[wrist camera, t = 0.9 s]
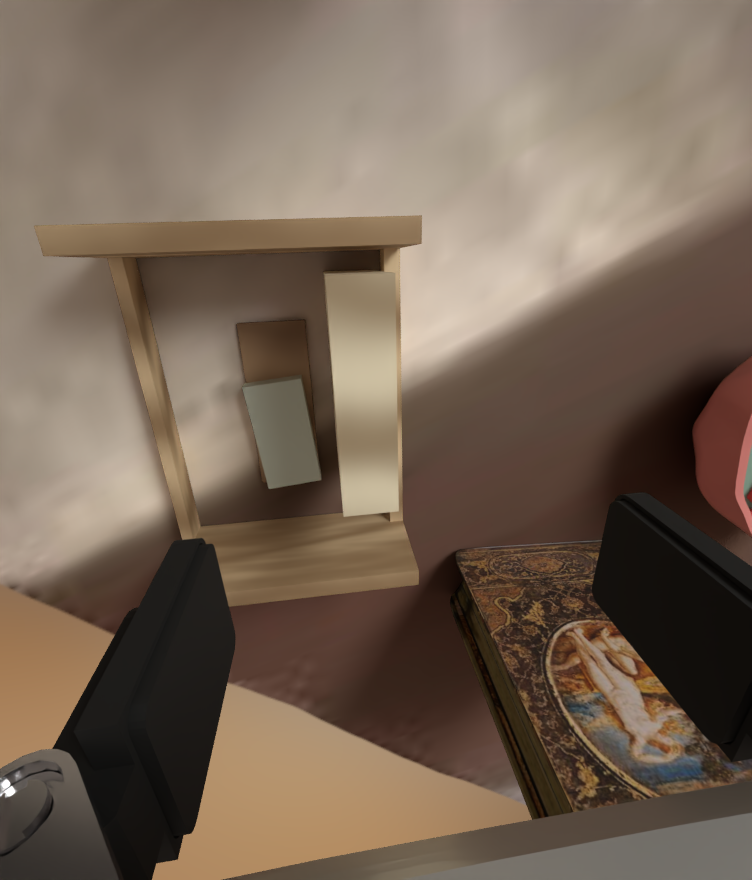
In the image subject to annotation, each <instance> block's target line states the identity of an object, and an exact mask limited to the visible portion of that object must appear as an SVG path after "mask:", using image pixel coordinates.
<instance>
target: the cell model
mask: <svg viewBox="0 0 752 880" xmlns="http://www.w3.org/2000/svg"><path fill="white" fill-rule="evenodd" d="M692 440H693V446H694V451H695V458H696V481H697V484H698V487H699V489H700V491H701V493H702V495H703V497H704V498H705V499H706V501H707V502H708V503H709V504H710V505H711V506H712V507H713V508H714V509H715V510H716V511H717V512H718V513H719V514H720V515H722V516H723V517H724V518H726V519H727V520H728V521H730V522H731V523H732V524H734V525H735V526H736V527H738V528H739V529H740V530H742V531H743V532H744V533H746V534H747V535H749V536H750V537H751V538H752V356H751V357H750V358H748V359H747V360H746V361H744V362H743V363H742V364H741V365H739V366H738V367H737V368H735V369H734V370H733V371H732V372H731V373H730V374H728V375H727V376H726V377H725V378H724V379H723V380H722V381H721V383H720V384H719V385H718V386H717V388H716V389H715V391H714V392H713V394H712V396H711V397H710V399H709V401H708V402H707V404H706V405H705V407H704V408H703V410H702V411H701V413H700V414H699V415H698V417H697V418H696V421H695V423H694V425H693V428H692Z"/></svg>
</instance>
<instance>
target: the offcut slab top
mask: <svg viewBox="0 0 752 880" xmlns="http://www.w3.org/2000/svg"><path fill="white" fill-rule="evenodd" d="M242 389H243V393H244V397H245V401H246V404H247V408H248V412H249V416H250V420H251V423H252V427H253V431H254V435H255V439H256V442H257V446H258V450H259V454H260V457H261V461H262V465H263V469H264V473H265V476H266V480H267V484H268V488H269V489H273V488H279V487H284V486H290V485H296V484H302V483H307V482H313V481H319V480H321V469H320V464H319V459H318V455H317V450H316V445H315V440H314V435H313V430H312V425H311V420H310V415H309V410H308V405H307V400H306V395H305V390H304V385H303V380H302V375H295V376H289V377H282V378H276V379H269V380H263V381H256V382H250V383H245V384H244V386H243V387H242Z"/></svg>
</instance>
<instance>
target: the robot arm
mask: <svg viewBox="0 0 752 880" xmlns="http://www.w3.org/2000/svg"><path fill="white" fill-rule="evenodd" d="M592 594H593V597H594V600H595V601H596V603H597V604H598V605H599V607H600V608H601V609H602V610H603V612H604V613H605V614H606V615H607V617H608V618H609V619H610V620H611V622H612V623H613V624H614V625H615V626H616V628H617V629H618V630H619V631H620V633H621V634H622V635H623V636H624V638H625V639H626V640H627V641H628V643H629V644H630V645H631V646H632V647H633V649H634V650H635V651H636V652H637V654H638V655H639V656H640V657H641V659H642V660H643V661H644V662H645V664H646V665H647V666H648V667H649V668H650V670H651V671H652V672H653V673H654V675H655V676H656V677H657V678H658V680H659V681H660V682H661V683H662V684H663V686H664V687H665V688H666V689H667V691H668V692H669V693H670V694H671V696H672V697H673V698H674V699H675V701H676V702H677V703H678V704H679V705H680V707H681V708H682V709H683V710H684V712H685V713H686V714H687V715H688V717H689V718H690V719H691V720H692V722H693V723H694V724H695V725H696V726H697V728H698V729H699V730H700V731H701V733H702V734H703V735H704V736H705V737H706V738H707V739H708V740H709V741H711V742H712V743H715V744H717V745H718V746H719V747H720V749H721V750H722V751H723V752H724V753H725V755H726V756H727V757H728V758H729V760H730V761H731V762H737V761H742V760H748V759H752V567H751V566H750V565H748V564H747V563H746V562H744V561H743V560H741V559H740V558H739V557H737V556H736V555H734V554H733V553H731V552H730V551H729V550H727V549H726V548H724V547H723V546H722V545H720V544H719V543H717V542H716V541H714V540H713V539H712V538H710V537H709V536H707V535H706V534H705V533H703V532H702V531H700V530H699V529H698V528H696V527H695V526H693V525H692V524H690V523H689V522H688V521H686V520H685V519H683V518H682V517H681V516H679V515H678V514H676V513H675V512H673V511H672V510H671V509H669V508H668V507H666V506H665V505H664V504H662V503H661V502H659V501H658V500H656V499H655V498H654V497H652V496H651V495H649V494H647V493H642V492H641V493H632V494H622V495H619V496H618V497H617V498H616V499H615V501H614V502H612V503H611V504H610V507H609V511H608V515H607V520H606V524H605V529H604V533H603V538H602V542H601V547H600V552H599V556H598V561H597V565H596V570H595V574H594V579H593V583H592ZM234 650H235V631H234V626H233V622H232V618H231V614H230V610H229V605H228V601H227V597H226V593H225V589H224V584H223V580H222V576H221V572H220V568H219V563H218V559H217V555H216V551H215V547H214V545H213V544H206V542H205V540H204V539H203V538H195V539H185V540H176V541H174V542H173V543H172V545H171V547H170V549H169V551H168V552H167V554H166V556H165V558H164V560H163V562H162V564H161V566H160V568H159V570H158V571H157V573H156V575H155V577H154V579H153V581H152V583H151V585H150V587H149V588H148V590H147V592H146V594H145V596H144V598H143V600H142V602H141V604H140V606H139V607H138V608H133V609H132V610H131V611H129V612H128V614H127V615H126V617H125V618H124V620H123V622H122V623H121V625H120V627H119V629H118V631H117V632H116V634H115V636H114V638H113V640H112V642H111V644H110V646H109V647H108V649H107V651H106V652H105V655H104V656H103V658H102V660H101V661H100V663H99V665H98V667H97V669H96V671H95V672H94V674H93V676H92V678H91V680H90V681H89V683H88V685H87V687H86V689H85V691H84V692H83V694H82V696H81V698H80V700H79V701H78V703H77V705H76V707H75V709H74V710H73V712H72V714H71V716H70V718H69V720H68V721H67V723H66V725H65V727H64V729H63V730H62V732H61V734H60V736H59V738H58V740H57V741H56V743H55V745H54V747H53V749H48V750H47V749H46V750H39V751H36V752H34V753H30V754H27V755H24V756H22V757H20V758H18V759H16V760H15V761H13V762H11V763H9V764H8V765H6V766H4V767H2V768H1V769H0V880H152V876H153V873H154V869H155V866H156V863H160V862H166V861H172V860H177V859H178V855H179V852H180V848H181V843H182V839H183V835H186V834H190V833H192V831H193V830H194V827H195V824H196V820H197V817H198V812H199V808H200V803H201V799H202V794H203V790H204V785H205V781H206V776H207V771H208V767H209V762H210V758H211V753H212V749H213V745H214V740H215V736H216V731H217V726H218V722H219V717H220V713H221V708H222V704H223V699H224V695H225V690H226V686H227V681H228V677H229V672H230V668H231V663H232V659H233V654H234ZM223 880H752V781H747V782H741V783H736V784H730V785H724V786H718V787H713V788H707V789H701V790H696V791H690V792H684V793H678V794H673V795H667V796H661V797H656V798H650V799H645V800H639V801H634V802H628V803H622V804H617V805H611V806H606V807H600V808H595V809H589V810H584V811H578V812H572V813H567V814H561V815H556V816H550V817H545V818H539V819H534V820H529V821H523V822H518V823H512V824H506V825H501V826H495V827H490V828H484V829H479V830H474V831H469V832H463V833H458V834H452V835H447V836H442V837H436V838H431V839H426V840H420V841H415V842H410V843H404V844H400V845H394V846H388V847H384V848H378V849H372V850H367V851H362V852H356V853H351V854H346V855H340V856H335V857H330V858H325V859H319V860H314V861H310V862H305V863H300V864H295V865H290V866H286V867H281V868H276V869H271V870H267V871H262V872H257V873H252V874H248V875H242V876H238V877H234V878H228V879H223Z"/></svg>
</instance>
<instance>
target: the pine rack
mask: <svg viewBox="0 0 752 880" xmlns="http://www.w3.org/2000/svg"><path fill="white" fill-rule="evenodd" d="M34 228H35V231H36V234H37V237H38V240H39V243H40V247H41V250H42V253H43V256H59V257H92V258H107V259H108V263H109V267H110V270H111V274H112V278H113V282H114V285H115V289H116V293H117V297H118V300H119V304H120V308H121V312H122V315H123V319H124V323H125V327H126V330H127V334H128V338H129V342H130V345H131V349H132V353H133V357H134V360H135V364H136V368H137V372H138V375H139V379H140V383H141V387H142V390H143V394H144V398H145V402H146V405H147V409H148V413H149V417H150V420H151V424H152V428H153V432H154V436H155V439H156V443H157V447H158V451H159V454H160V458H161V462H162V466H163V469H164V473H165V477H166V481H167V484H168V488H169V492H170V496H171V499H172V503H173V507H174V511H175V514H176V518H177V522H178V526H179V529H180V533H181V537H182V540H185V539H195V538H203V539H204V540H205V542H206V544H213V545H214V547H215V551H216V555H217V559H218V563H219V568H220V572H221V576H222V580H223V584H224V589H225V593H226V597H227V601H228V605H229V607H231V606H239V605H248V604H256V603H265V602H273V601H282V600H291V599H299V598H308V597H316V596H325V595H333V594H342V593H350V592H359V591H368V590H376V589H385V588H393V587H402V586H410V585H419V570H418V567H417V564H416V561H415V557H414V554H413V551H412V548H411V545H410V542H409V539H408V536H407V533H406V529H405V526H404V523H403V510H402V414H401V318H400V248H402V247H407V246H412V245H417V244H421V241H422V216H385V217H347V218H308V219H270V220H232V221H194V222H156V223H117V224H79V225H41V226H34ZM354 250H380V271H383V272H392V273H395V284H396V353H397V421H398V490H399V511H397V512H387V513H377V514H367V515H357V516H346V517H343V513H334V514H323V515H313V516H303V517H292V518H282V519H272V520H262V521H251V522H241V523H231V524H220V525H210V526H200V522H199V517H198V513H197V509H196V505H195V501H194V497H193V493H192V488H191V484H190V480H189V476H188V472H187V468H186V463H185V459H184V455H183V451H182V447H181V443H180V439H179V434H178V430H177V426H176V422H175V418H174V414H173V410H172V405H171V401H170V397H169V393H168V389H167V385H166V381H165V376H164V372H163V368H162V364H161V360H160V356H159V352H158V347H157V343H156V339H155V335H154V331H153V327H152V323H151V318H150V314H149V310H148V306H147V302H146V298H145V294H144V289H143V285H142V281H141V277H140V273H139V269H138V264H137V260H136V258H149V257H178V256H207V255H237V254H266V253H295V252H324V251H354Z"/></svg>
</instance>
